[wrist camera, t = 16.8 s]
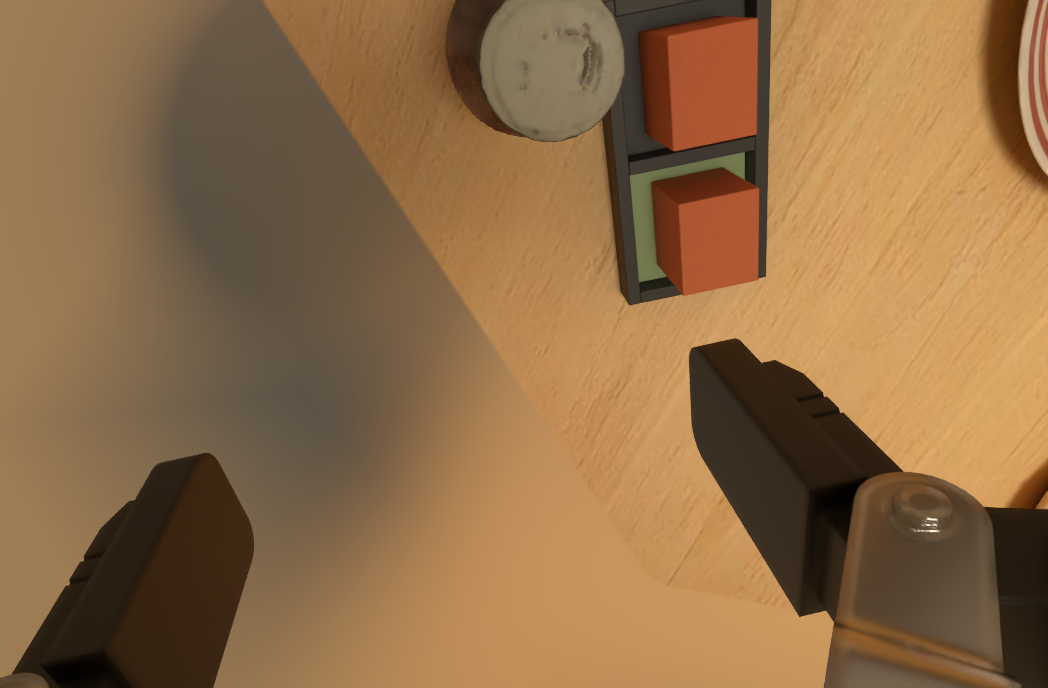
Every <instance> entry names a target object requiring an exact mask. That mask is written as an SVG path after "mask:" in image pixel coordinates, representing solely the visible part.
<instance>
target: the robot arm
mask: <svg viewBox="0 0 1048 688" xmlns="http://www.w3.org/2000/svg"><path fill="white" fill-rule="evenodd" d="M689 372H690V396H691V420H692V429H693V434H694V438H695V441H696V444H697V447H698V450H699V452H700V454H701V456H702V458H703V460H704V462H705V463H706V465H707V467H708V468H709V470H710V471H711V473H712V475H713V476H714V478H715V480H716V481H717V483H718V485H719V486H720V488H721V489H722V491H723V493H724V494H725V496H726V498H727V499H728V501H729V503H730V504H731V506H732V507H733V509H734V511H735V512H736V514H737V516H738V517H739V519H740V521H741V522H742V524H743V525H744V527H745V529H746V530H747V532H748V534H749V535H750V537H751V539H752V540H753V542H754V543H755V545H756V547H757V548H758V550H759V552H760V553H761V555H762V557H763V558H764V560H765V561H766V563H767V565H768V566H769V568H770V570H771V571H772V573H773V575H774V576H775V578H776V579H777V581H778V583H779V584H780V586H781V588H782V589H783V591H784V593H785V594H786V596H787V597H788V599H789V601H790V602H791V604H792V606H793V607H794V609H795V611H796V612H797V614H798V615H799V617H801V616H805V615H809V614H813V613H817V612H822V611H827V612H828V614H829V615H830V617H831V618H832V620H833V621H834V626H833V632H832V639H831V645H830V651H829V658H828V664H827V671H826V677H825V683H824V688H1048V509H1024V508H993V507H983V506H982V505H981V504H980V503H979V502H978V501H977V500H976V499H975V498H974V497H973V496H971V495H970V494H969V493H967V492H966V491H965V490H963V489H961V488H959V487H958V486H956V485H954V484H952V483H949V482H947V481H945V480H942V479H939V478H936V477H933V476H929V475H925V474H920V473H913V472H903V471H902V470H901V469H900V468H899V467H898V466H897V465H896V464H895V463H894V462H893V461H892V460H891V459H890V458H889V457H888V456H887V455H886V454H885V453H884V452H883V451H882V450H881V449H880V448H879V447H878V446H877V445H876V444H875V443H874V442H873V441H872V440H871V439H870V438H869V437H868V436H867V435H866V434H865V433H864V432H863V431H862V430H861V429H860V428H859V427H858V426H856V425H855V424H854V423H853V422H852V421H851V420H850V419H849V418H848V417H847V416H846V415H845V414H844V413H840V411H839V408H838V407H837V406H836V405H835V404H834V403H833V402H832V401H831V400H830V399H829V398H828V397H824V396H823V392H822V391H821V390H820V389H819V388H818V387H817V386H816V385H815V384H814V383H813V382H812V381H811V380H810V379H808V378H807V377H806V376H805V375H804V374H803V373H801V372H799V371H797V370H795V369H793V368H790V367H788V366H786V365H784V364H782V363H780V362H778V361H776V360H773V361H769V362H764V363H761V362H760V361H759V360H758V359H757V358H756V357H755V356H754V355H753V354H752V353H751V351H750V350H749V349H748V348H747V347H746V346H745V345H744V344H743V343H742V342H741V341H740V340H739V339H736V338H734V339H730V340H725V341H721V342H716V343H712V344H707V345H702V346H698V347H694V348H692V349H691V351H690V354H689ZM253 553H254V539H253V532H252V527H251V524H250V521H249V519H248V517H247V515H246V513H245V511H244V509H243V508H242V506H241V504H240V502H239V500H238V498H237V496H236V494H235V492H234V490H233V488H232V486H231V485H230V483H229V481H228V479H227V477H226V475H225V473H224V472H223V470H222V468H221V466H220V464H219V462H218V460H217V459H216V458H215V457H214V456H213V455H211V454H210V453H203V454H198V455H194V456H189V457H185V458H180V459H176V460H171V461H166V462H162V463H159V464H157V465H156V466H155V467H154V468H153V470H152V471H151V473H150V475H149V476H148V478H147V480H146V482H145V483H144V485H143V487H142V489H141V490H140V492H139V494H138V495H137V497H136V499H135V500H133V501H129V502H128V503H127V504H126V505H125V506H123V507H122V508H121V510H119V511H118V512H117V513H116V514H115V515H114V516H113V517H112V518H111V519H110V520H109V521H108V522H107V523H106V524H105V525H104V526H103V527H102V528H101V529H100V530H99V532H98V534H97V535H96V537H95V539H94V540H93V542H92V544H91V545H90V547H89V549H88V550H87V552H86V553H85V555H84V561H83V562H80V563H79V565H78V566H77V568H76V570H75V571H74V573H73V575H72V576H71V578H70V580H69V581H70V585H69V586H65V588H64V590H63V591H62V593H61V594H60V596H59V598H58V599H57V601H56V602H55V604H54V606H53V607H52V609H51V611H50V612H49V614H48V616H47V617H46V619H45V620H44V622H43V624H42V625H41V627H40V629H39V630H38V632H37V634H36V635H35V637H34V638H33V640H32V642H31V643H30V645H29V647H28V648H27V650H26V652H25V653H24V655H23V657H22V658H21V660H20V661H19V663H18V665H17V666H16V668H15V670H14V671H13V673H12V675H9V676H5V677H3V678H0V688H213V686H214V683H215V680H216V676H217V673H218V669H219V667H220V663H221V660H222V657H223V653H224V650H225V647H226V643H227V640H228V637H229V634H230V630H231V627H232V623H233V620H234V617H235V614H236V611H237V608H238V604H239V601H240V598H241V594H242V591H243V588H244V585H245V581H246V578H247V575H248V572H249V568H250V565H251V562H252V558H253Z"/></svg>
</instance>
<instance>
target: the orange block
mask: <svg viewBox="0 0 1048 688" xmlns="http://www.w3.org/2000/svg"><path fill="white" fill-rule="evenodd" d="M651 188H652V202H653V216H654V229H655V243H656V257H657V265H658V266H659V267H660V269H661V270H662V271H663V272H664V273H665V275H666V276H667V277H668V278H669V279H670V280H671V282H672V283H673V284H674V285H675V286H676V288H677V289H678V290H679V291H680V292H681V293H682V295H683V296H685V295H689V294H694V293H699V292H703V291H708V290H713V289H718V288H722V287H727V286H732V285H737V284H741V283H746V282H751V281H755V280H758V248H759V188H758V187H757V186H755V185H753V184H751V183H750V182H748V181H746V180H744V179H743V178H741V177H739V176H737V175H736V174H734V173H732V172H730V171H729V170H727V169H725V168H723V167H720V168H715V169H711V170H706V171H701V172H696V173H691V174H686V175H682V176H677V177H672V178H667V179H662V180H657V181H653V182H651Z"/></svg>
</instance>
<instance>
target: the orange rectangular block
mask: <svg viewBox="0 0 1048 688" xmlns="http://www.w3.org/2000/svg"><path fill="white" fill-rule="evenodd" d="M638 35H639V48H640V62H641V76H642V89H643V103H644V116H645V130H646V134H647V135H648V136H650V137H652V138H653V139H655V140H656V141H658V142H660V143H661V144H663V145H664V146H666V147H668V148H669V149H671V150H672V151H679V150H684V149H689V148H694V147H698V146H703V145H708V144H713V143H718V142H723V141H728V140H733V139H737V138H742V137H747V136H752V135H756V134H757V75H758V18H751V17H729V16H714V17H709V18H704V19H699V20H694V21H689V22H684V23H679V24H674V25H669V26H664V27H659V28H654V29H649V30H644V31H640V32H639V33H638Z"/></svg>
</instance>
